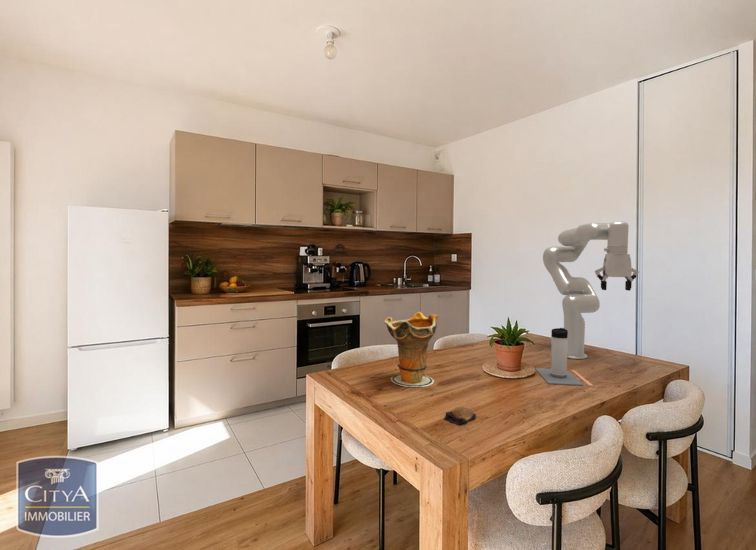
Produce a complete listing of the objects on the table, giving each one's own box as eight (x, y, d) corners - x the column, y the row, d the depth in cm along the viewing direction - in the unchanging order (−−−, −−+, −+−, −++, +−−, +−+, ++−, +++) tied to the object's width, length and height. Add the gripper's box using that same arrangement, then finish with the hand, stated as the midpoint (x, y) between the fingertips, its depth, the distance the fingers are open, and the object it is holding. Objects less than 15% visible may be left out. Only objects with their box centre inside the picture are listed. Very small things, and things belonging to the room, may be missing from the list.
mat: (535, 369, 173) (535, 368, 173) (565, 370, 171) (565, 369, 171) (548, 384, 153) (548, 382, 153) (583, 385, 151) (583, 384, 151)
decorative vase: (373, 380, 156) (375, 312, 155) (408, 371, 173) (410, 309, 172) (413, 393, 142) (417, 318, 141) (447, 381, 159) (450, 314, 158)
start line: (571, 370, 171) (571, 370, 171) (574, 370, 171) (574, 370, 171) (589, 386, 151) (589, 385, 151) (593, 386, 151) (593, 385, 151)
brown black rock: (457, 410, 129) (457, 400, 129) (480, 418, 123) (480, 406, 123) (439, 420, 121) (439, 409, 121) (463, 428, 115) (463, 416, 115)
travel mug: (568, 375, 163) (570, 328, 161) (563, 379, 158) (565, 331, 157) (553, 372, 167) (554, 326, 166) (548, 375, 162) (549, 329, 161)
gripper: (599, 250, 164) (598, 290, 165) (643, 250, 161) (642, 291, 162) (592, 250, 171) (591, 289, 172) (634, 250, 169) (632, 289, 170)
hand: (615, 290), depth 167 cm, fingers open, 9 cm apart
